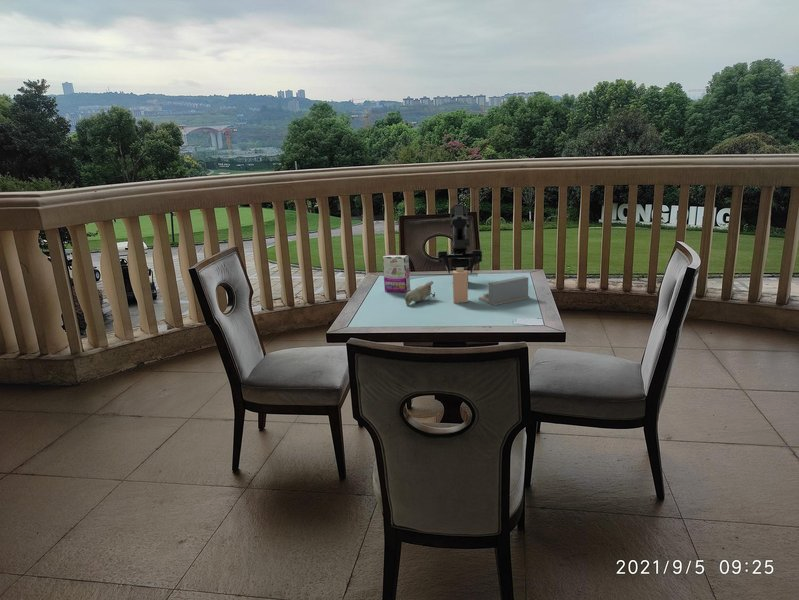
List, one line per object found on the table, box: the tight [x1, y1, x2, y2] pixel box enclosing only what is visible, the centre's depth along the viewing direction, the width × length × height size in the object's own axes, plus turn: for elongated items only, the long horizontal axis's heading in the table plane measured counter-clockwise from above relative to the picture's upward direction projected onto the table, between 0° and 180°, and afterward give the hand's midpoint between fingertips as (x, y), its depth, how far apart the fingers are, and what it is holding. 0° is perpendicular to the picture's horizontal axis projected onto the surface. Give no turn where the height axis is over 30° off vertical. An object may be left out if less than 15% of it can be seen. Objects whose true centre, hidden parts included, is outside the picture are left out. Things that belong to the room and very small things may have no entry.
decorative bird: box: [404, 280, 436, 306], centre depth 231 cm, size 5×16×8 cm, turn 132°
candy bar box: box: [382, 254, 411, 293], centre depth 247 cm, size 11×5×16 cm, turn 68°
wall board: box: [478, 275, 530, 306], centre depth 228 cm, size 11×18×9 cm, turn 117°
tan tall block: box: [452, 268, 469, 304], centre depth 227 cm, size 4×6×15 cm, turn 84°
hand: (460, 273), depth 230 cm, fingers open, 9 cm apart
